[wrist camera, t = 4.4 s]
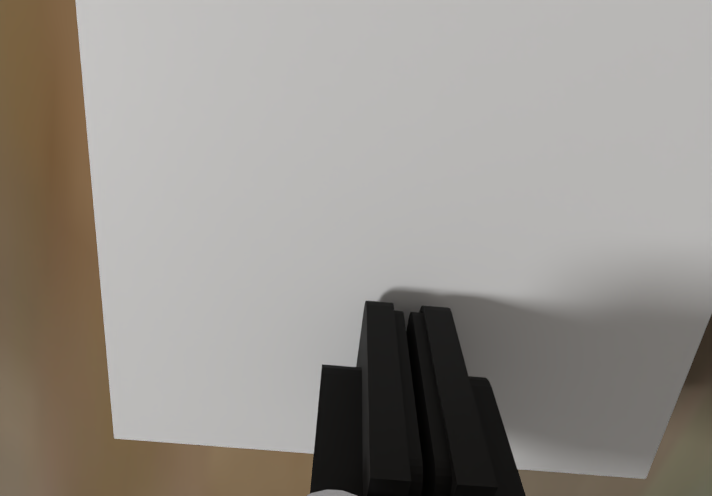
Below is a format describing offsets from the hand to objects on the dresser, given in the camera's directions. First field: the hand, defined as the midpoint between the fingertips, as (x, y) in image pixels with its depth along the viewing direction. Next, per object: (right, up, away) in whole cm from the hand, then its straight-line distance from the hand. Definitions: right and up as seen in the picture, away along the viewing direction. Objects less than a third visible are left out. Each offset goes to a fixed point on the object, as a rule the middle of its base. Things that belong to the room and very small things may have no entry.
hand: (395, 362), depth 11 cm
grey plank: (+1, +6, 0) cm, 6 cm away
